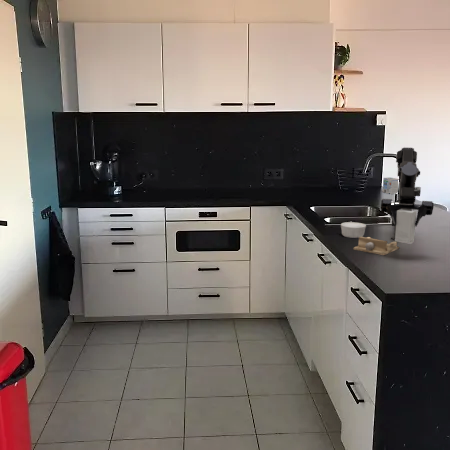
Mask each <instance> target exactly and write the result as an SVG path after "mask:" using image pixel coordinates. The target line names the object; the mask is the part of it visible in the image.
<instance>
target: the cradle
mask: <svg viewBox="0 0 450 450" xmlns="http://www.w3.org/2000/svg"><path fill="white" fill-rule="evenodd" d="M397 245H398V242H397V241H395V240H394V241H392V242H389V243H388V240H382V239H377V238H372V237H370V236H367V237H365V236H363V237H359V238H358V245H357V246H354V247H353V250H354V251H360V252H365V253H370V254H374V255H376V254H377V255H381V256H385V255H387V254H388V255H389V254H390V253H392V252H394V251H395V252H396V251H397V250H399V249H400V246H397Z"/></svg>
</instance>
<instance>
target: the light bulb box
mask: <svg viewBox="0 0 450 450" xmlns="http://www.w3.org/2000/svg"><path fill="white" fill-rule="evenodd" d="M398 180H399V178H396V177H383V183H382V193H384V192H385V194H388V193H390V194H389V195H395V194H394V193H397V192H398Z"/></svg>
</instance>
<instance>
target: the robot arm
mask: <svg viewBox="0 0 450 450" xmlns="http://www.w3.org/2000/svg"><path fill="white" fill-rule="evenodd" d="M395 159H396V160H395V163H396V164H397V167H396V168H397V177H398V179H400V182H399V194H398V202H395V201H393V199H392V198H382V199H381V200H380V201H381V202H380V213H386V214H387V215H389V216H390V217H391V226H392V227H394V228H393V229H394V231H393V232H394V233H393V236H392V237H391V238H390V240H394V241H395V232H396V219H397V210H400V209H404V210H410V211H417V212H416V224H415V228H416V227H418V225H419V223H420V221H421V219H422V218H423V217H425V216H432V215H433V212H434V206H435V205H434V204H435V203H434V201H430V200H422V202H421V204H415V203H416V197H420V196H421V189H422V187H420V186H416V181H417V178H419V176H420V175H421V171H420V170H419V169H420V168H418V166H417V159H418V152H417V151H415V148H413V147H401V149H400V150H398V151H396V158H395Z"/></svg>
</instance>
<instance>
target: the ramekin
mask: <svg viewBox="0 0 450 450" xmlns="http://www.w3.org/2000/svg"><path fill="white" fill-rule="evenodd" d="M340 228H341V235H342V236H343V237H345V238H351V239H359V237H364V236H365V232H366V228H367V225H366V223H361V222H354V221H352V222H351V221H348V222H347V221H346V222H342V223H340Z"/></svg>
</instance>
